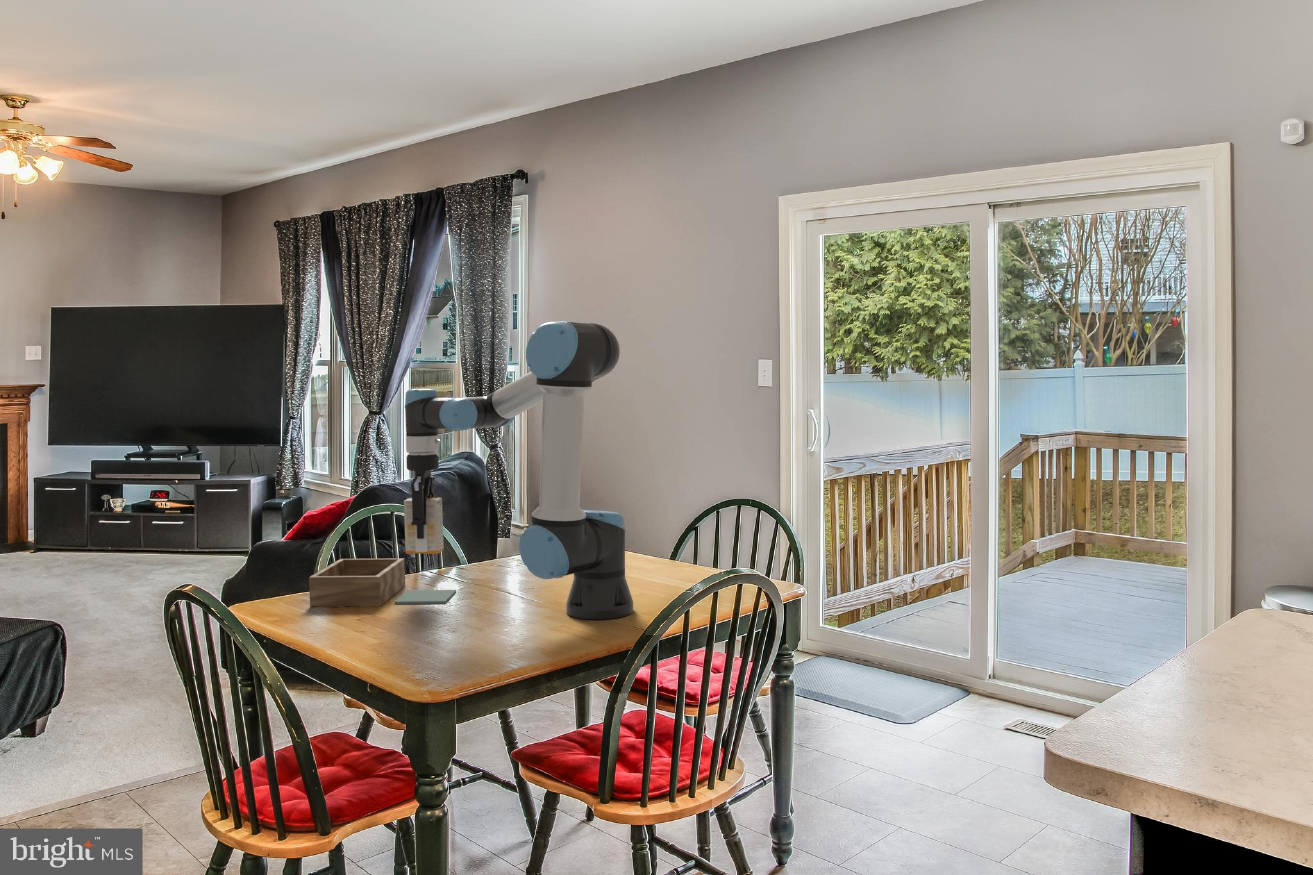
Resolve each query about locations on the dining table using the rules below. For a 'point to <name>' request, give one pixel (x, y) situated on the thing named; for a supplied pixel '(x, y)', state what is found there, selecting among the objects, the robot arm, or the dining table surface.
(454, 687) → the dining table surface
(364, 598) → the crate
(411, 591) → the mat
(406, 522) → the supplement box
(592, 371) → the robot arm
